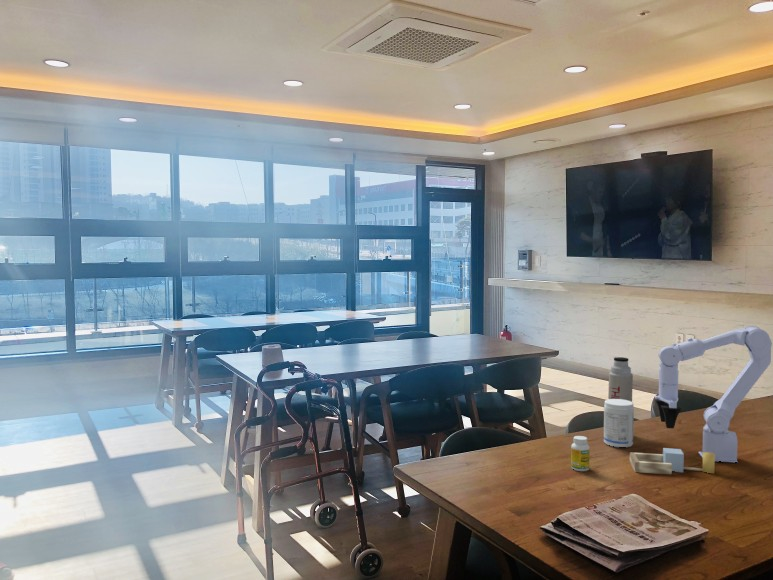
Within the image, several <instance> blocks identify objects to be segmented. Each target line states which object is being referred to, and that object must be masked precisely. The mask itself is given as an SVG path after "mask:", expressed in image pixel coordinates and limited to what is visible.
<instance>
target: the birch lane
mask: <svg viewBox="0 0 773 580" xmlns="http://www.w3.org/2000/svg"><path fill="white" fill-rule="evenodd" d="M629 463H630V465H631V467H632V469H633V471H634V473H644V474H645V473H647V474H658V475H672V473H673V472H672V464H671V463H663V453H662V454H661V453H649V452H647V453H646V452H645V453H644V452H629Z"/></svg>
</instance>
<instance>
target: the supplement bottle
mask: <svg viewBox="0 0 773 580" xmlns="http://www.w3.org/2000/svg"><path fill="white" fill-rule="evenodd" d="M572 441H573V443H571V446H570V457H571V458H570V467H571V469H572V470H573V469H574V470H573V471H576V472H577V471H578V472H587V471H589V470H590V457H591V456H590V450H591V448H590V447H591V446H589V444H588V437H587V436H583V435H575V436H573V440H572Z"/></svg>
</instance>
